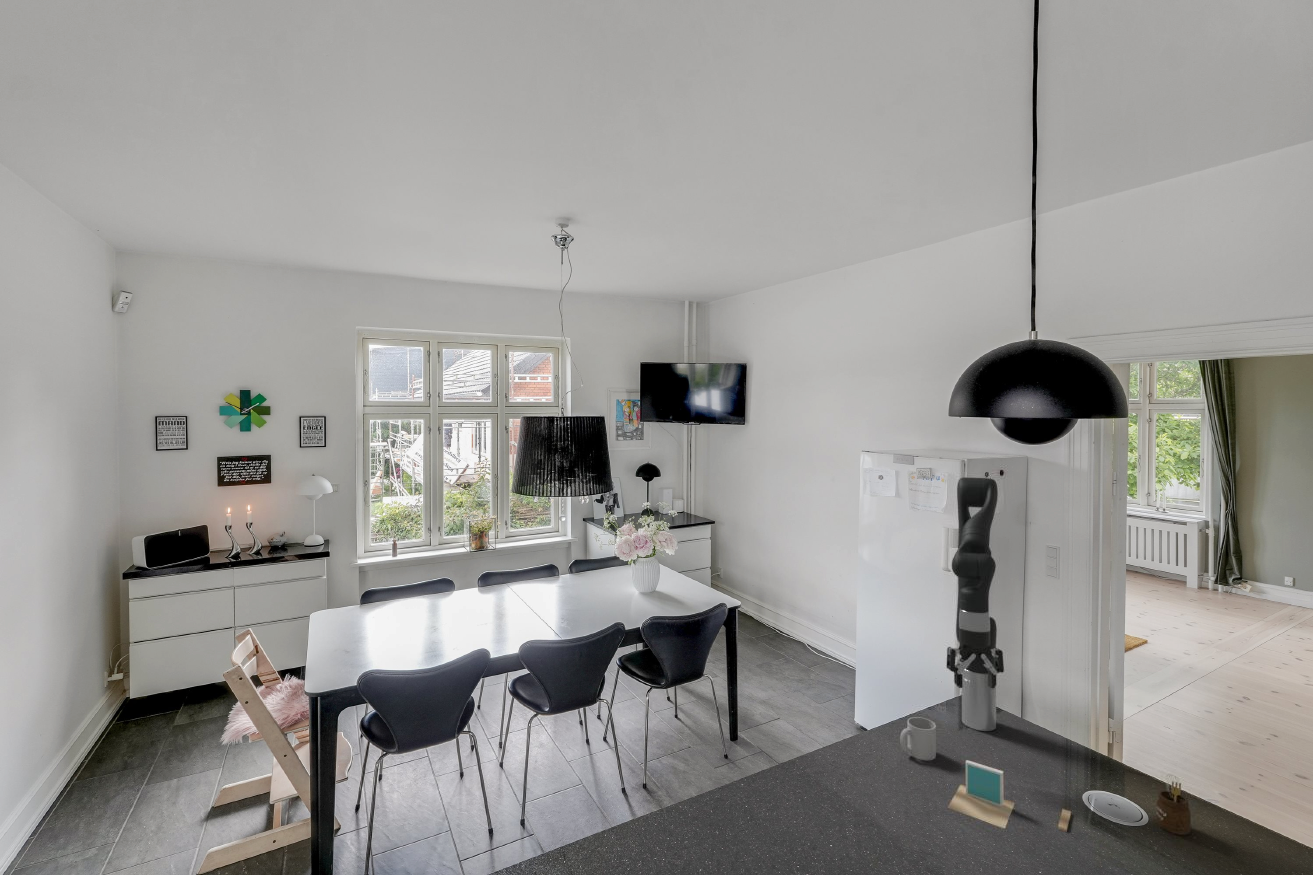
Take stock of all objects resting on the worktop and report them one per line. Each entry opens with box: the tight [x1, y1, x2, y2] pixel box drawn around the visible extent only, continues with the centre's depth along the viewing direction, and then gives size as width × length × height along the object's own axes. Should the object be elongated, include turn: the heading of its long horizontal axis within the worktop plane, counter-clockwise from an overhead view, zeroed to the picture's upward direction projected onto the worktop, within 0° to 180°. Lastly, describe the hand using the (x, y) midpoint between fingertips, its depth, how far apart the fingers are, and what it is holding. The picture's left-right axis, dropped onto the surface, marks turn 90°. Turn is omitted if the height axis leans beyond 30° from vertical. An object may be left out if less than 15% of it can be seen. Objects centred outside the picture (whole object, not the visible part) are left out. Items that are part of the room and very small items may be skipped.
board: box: [947, 784, 1016, 829], centre depth 144 cm, size 12×12×1 cm
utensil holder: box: [1155, 773, 1192, 836], centre depth 136 cm, size 6×6×12 cm
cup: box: [899, 716, 937, 761], centre depth 167 cm, size 7×10×9 cm
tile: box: [965, 759, 1004, 807], centre depth 146 cm, size 1×8×8 cm, turn 50°
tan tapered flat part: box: [1057, 808, 1072, 833], centre depth 136 cm, size 13×4×1 cm, turn 140°
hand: (975, 687), depth 163 cm, fingers open, 8 cm apart
